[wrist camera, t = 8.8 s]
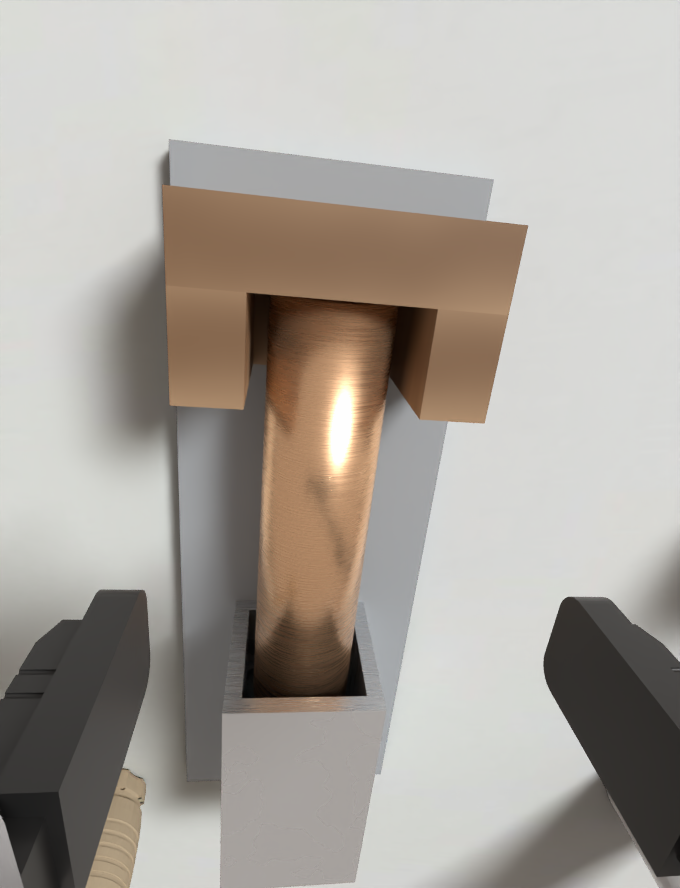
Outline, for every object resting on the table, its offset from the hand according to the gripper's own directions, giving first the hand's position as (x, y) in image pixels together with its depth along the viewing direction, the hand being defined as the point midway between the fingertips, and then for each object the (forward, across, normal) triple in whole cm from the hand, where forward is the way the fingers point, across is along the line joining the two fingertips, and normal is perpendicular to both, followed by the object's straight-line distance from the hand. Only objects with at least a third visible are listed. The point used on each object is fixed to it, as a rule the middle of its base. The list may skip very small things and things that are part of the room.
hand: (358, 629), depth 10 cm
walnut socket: (+14, 0, -5) cm, 14 cm away
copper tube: (+13, 0, +4) cm, 13 cm away
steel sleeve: (+14, 0, +17) cm, 22 cm away
